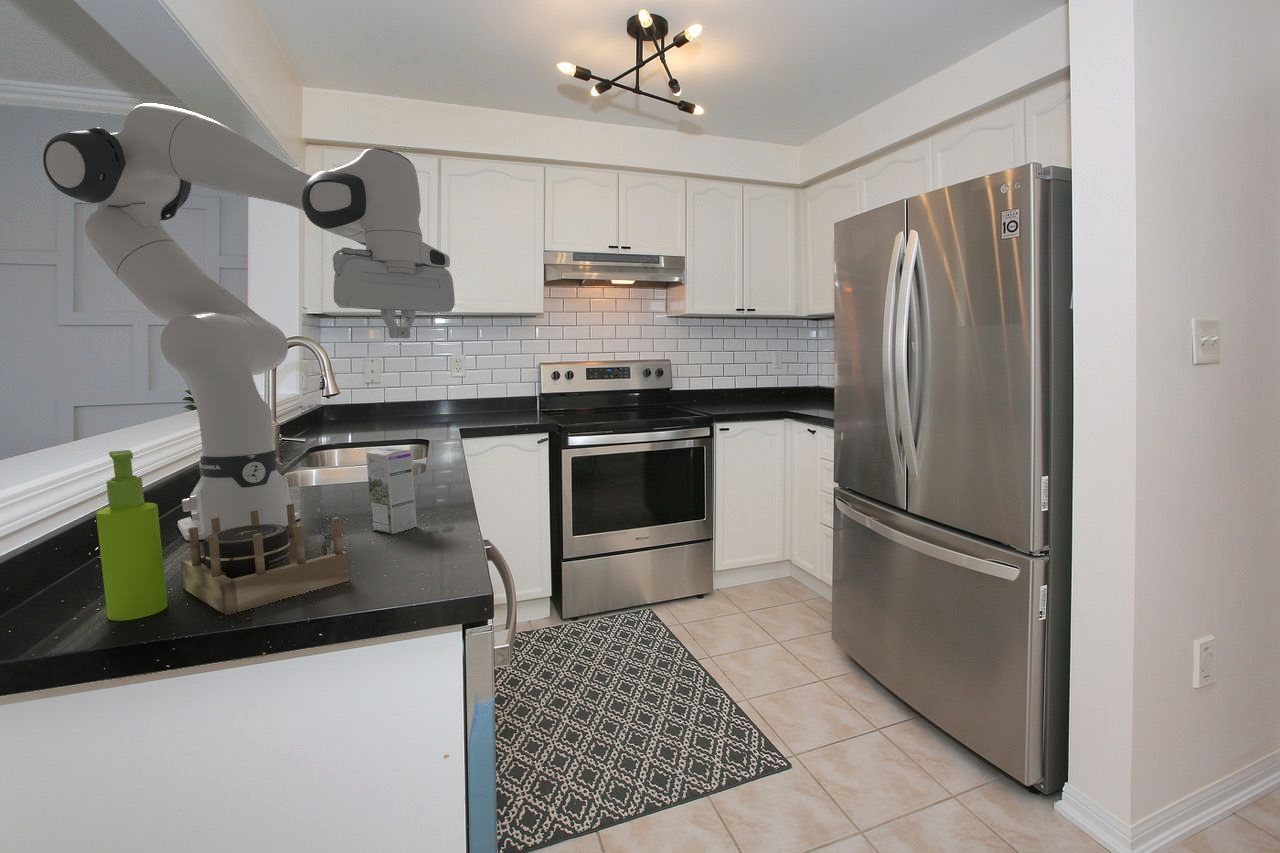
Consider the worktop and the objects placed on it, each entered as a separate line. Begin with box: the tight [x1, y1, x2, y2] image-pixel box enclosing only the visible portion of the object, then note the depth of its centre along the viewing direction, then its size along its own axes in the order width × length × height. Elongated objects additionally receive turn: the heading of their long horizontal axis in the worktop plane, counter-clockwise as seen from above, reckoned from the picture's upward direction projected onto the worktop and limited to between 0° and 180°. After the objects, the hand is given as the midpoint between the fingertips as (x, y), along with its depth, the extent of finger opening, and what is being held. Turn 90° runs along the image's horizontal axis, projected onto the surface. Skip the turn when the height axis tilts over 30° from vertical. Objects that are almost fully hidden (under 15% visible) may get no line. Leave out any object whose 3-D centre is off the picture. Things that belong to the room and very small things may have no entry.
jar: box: [202, 524, 290, 579], centre depth 87 cm, size 10×10×8 cm
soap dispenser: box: [95, 449, 168, 622], centre depth 79 cm, size 6×7×20 cm
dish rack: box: [180, 503, 350, 616], centre depth 88 cm, size 15×15×9 cm
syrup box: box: [366, 447, 418, 535], centre depth 115 cm, size 6×6×14 cm
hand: (399, 338), depth 107 cm, fingers closed
